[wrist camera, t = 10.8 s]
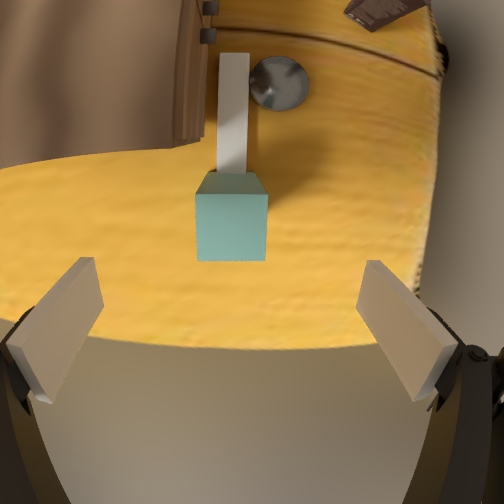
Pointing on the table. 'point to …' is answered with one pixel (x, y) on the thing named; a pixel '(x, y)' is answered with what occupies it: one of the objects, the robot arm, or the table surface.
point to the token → (278, 84)
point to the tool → (232, 178)
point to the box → (380, 11)
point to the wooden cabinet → (101, 76)
